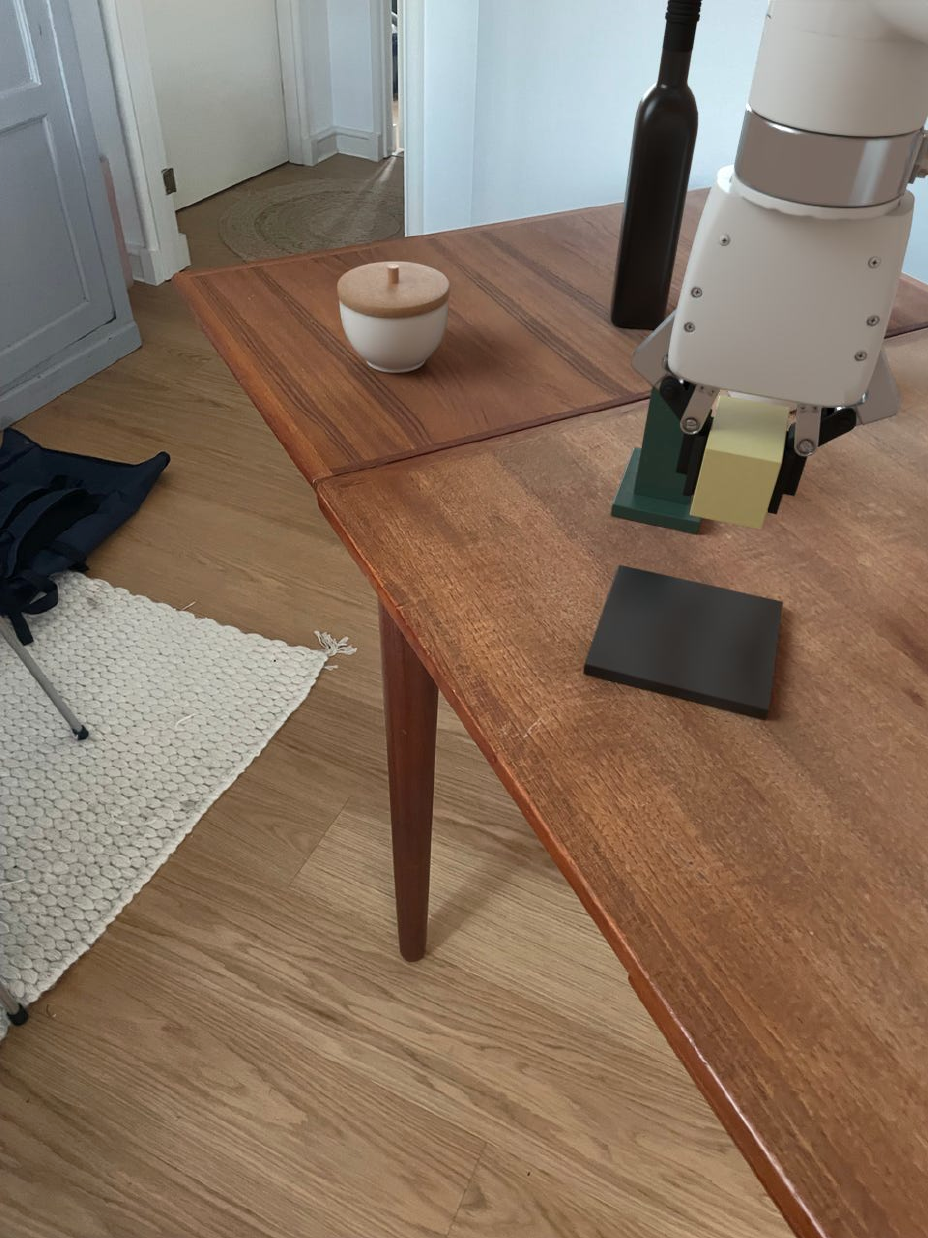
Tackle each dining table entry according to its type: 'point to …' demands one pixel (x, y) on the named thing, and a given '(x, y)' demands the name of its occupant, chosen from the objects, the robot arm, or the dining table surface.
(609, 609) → the board
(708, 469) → the butter
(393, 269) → the trinket box
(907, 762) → the dining table surface
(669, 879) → the dining table surface
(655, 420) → the green lever stand
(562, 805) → the dining table surface
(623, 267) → the wine bottle
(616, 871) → the dining table surface
